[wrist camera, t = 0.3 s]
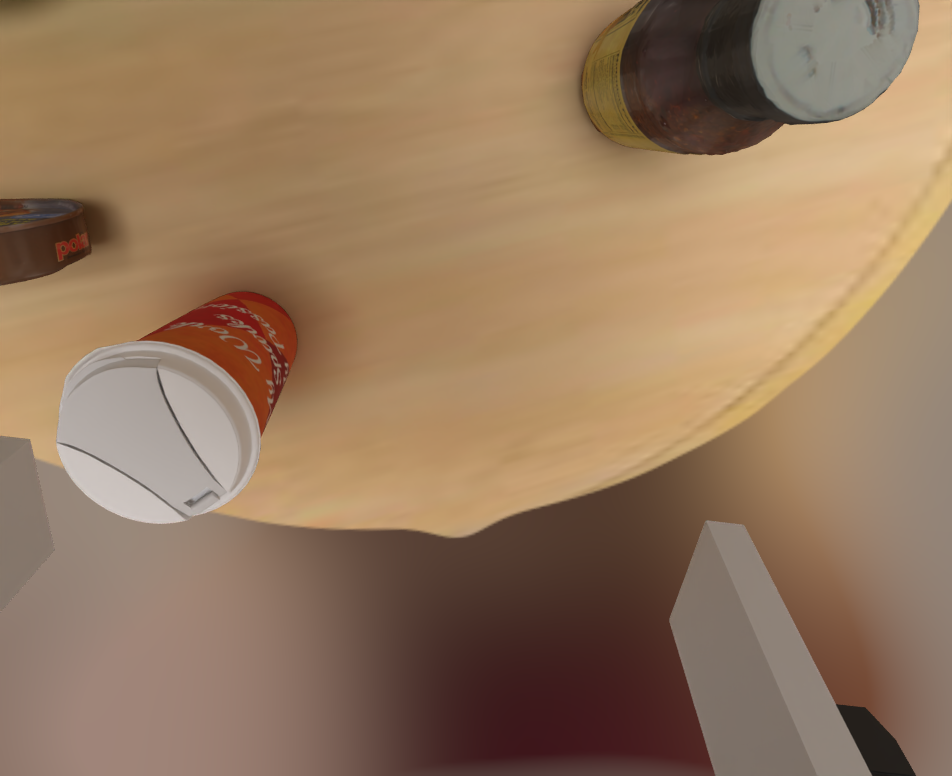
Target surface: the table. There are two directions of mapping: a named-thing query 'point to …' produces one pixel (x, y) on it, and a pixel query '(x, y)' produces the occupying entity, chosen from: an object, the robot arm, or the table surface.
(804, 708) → the robot arm
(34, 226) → the tin
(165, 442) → the paper cup
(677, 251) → the table surface
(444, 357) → the table surface
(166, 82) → the table surface
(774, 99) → the sauce bottle
